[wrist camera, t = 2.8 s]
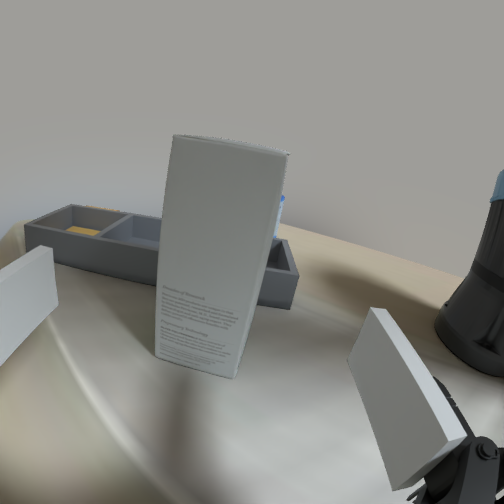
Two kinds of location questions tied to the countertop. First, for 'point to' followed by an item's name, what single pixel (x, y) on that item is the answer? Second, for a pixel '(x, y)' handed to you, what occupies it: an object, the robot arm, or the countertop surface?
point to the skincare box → (214, 248)
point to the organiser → (137, 248)
